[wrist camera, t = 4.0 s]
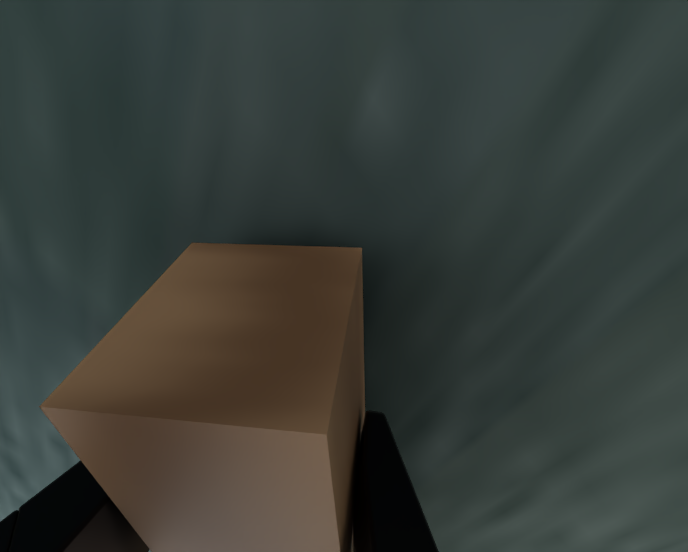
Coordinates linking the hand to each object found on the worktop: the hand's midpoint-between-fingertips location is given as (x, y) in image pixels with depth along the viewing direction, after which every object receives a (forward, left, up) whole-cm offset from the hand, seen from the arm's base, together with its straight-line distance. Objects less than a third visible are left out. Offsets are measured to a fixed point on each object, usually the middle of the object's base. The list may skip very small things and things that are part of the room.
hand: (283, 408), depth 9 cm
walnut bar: (-1, +8, -1) cm, 8 cm away
